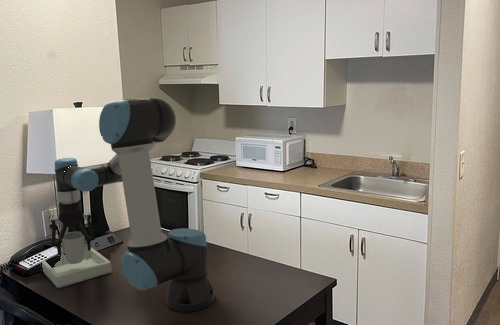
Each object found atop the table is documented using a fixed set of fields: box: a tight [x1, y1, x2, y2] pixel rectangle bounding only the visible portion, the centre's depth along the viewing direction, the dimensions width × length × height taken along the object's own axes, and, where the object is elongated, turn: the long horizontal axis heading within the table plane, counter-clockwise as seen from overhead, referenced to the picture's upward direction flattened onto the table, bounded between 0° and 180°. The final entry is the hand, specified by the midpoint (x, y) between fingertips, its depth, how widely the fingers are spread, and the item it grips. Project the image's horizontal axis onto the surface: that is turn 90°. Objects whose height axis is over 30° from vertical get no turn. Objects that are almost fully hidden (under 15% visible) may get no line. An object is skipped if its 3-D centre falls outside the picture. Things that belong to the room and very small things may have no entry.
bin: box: [40, 247, 113, 289], centre depth 169 cm, size 19×19×4 cm
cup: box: [61, 231, 86, 264], centre depth 168 cm, size 8×8×10 cm
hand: (75, 260), depth 169 cm, fingers closed on cup, 8 cm apart
